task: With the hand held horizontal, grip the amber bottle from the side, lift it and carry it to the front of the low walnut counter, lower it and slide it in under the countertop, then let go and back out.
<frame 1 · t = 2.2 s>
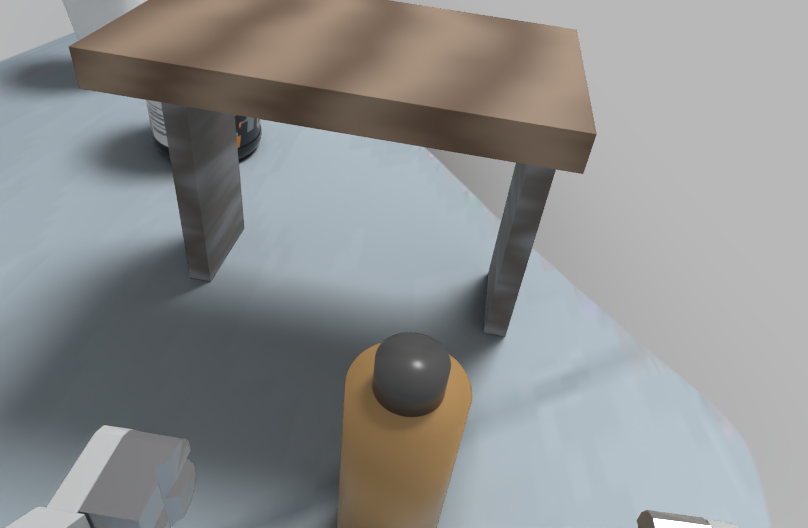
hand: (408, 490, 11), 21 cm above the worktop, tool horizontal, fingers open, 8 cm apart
counter: (345, 306, 45), on the worktop
foam cup: (122, 76, 71), on the worktop
supplement container: (209, 145, 61), on the worktop
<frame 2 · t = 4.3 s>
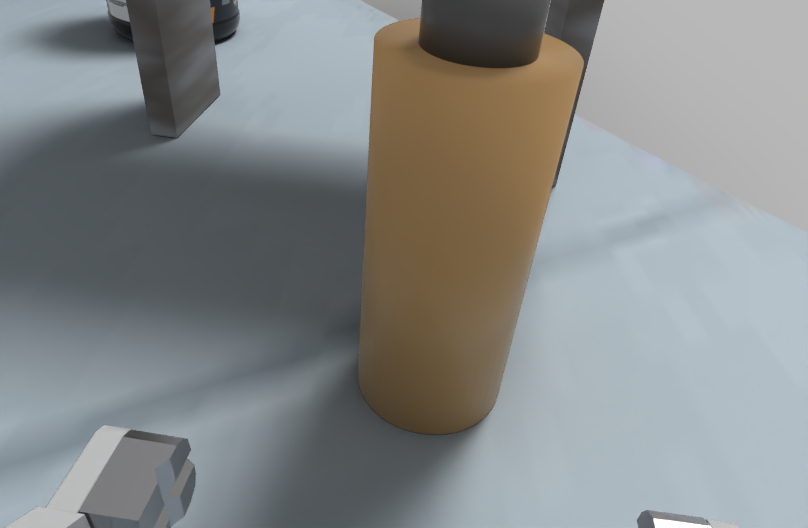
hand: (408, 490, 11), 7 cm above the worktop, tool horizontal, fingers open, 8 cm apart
amber bottle: (428, 376, 22), on the worktop
counter: (350, 159, 35), on the worktop
supplement container: (178, 32, 52), on the worktop
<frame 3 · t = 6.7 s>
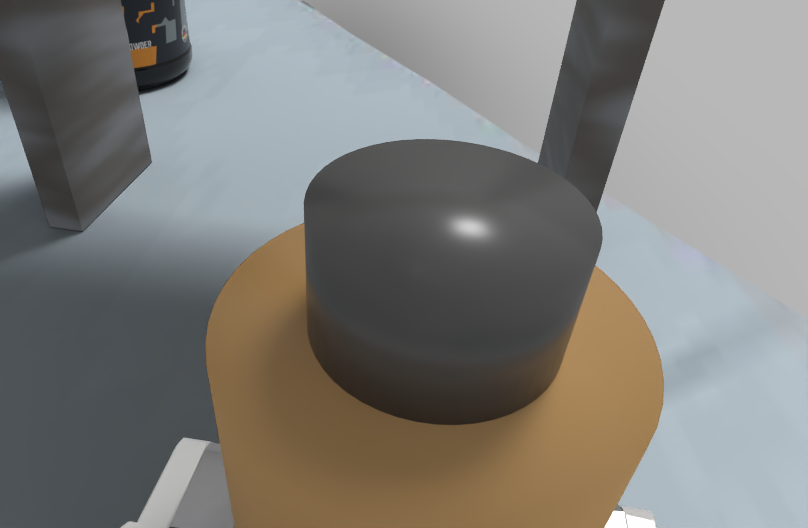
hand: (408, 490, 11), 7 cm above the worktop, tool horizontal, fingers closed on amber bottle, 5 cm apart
counter: (303, 262, 27), on the worktop
supplement container: (119, 72, 44), on the worktop
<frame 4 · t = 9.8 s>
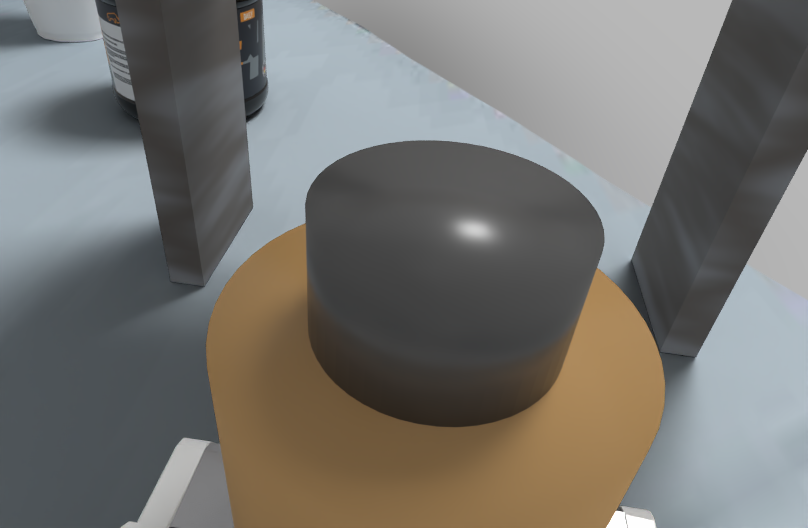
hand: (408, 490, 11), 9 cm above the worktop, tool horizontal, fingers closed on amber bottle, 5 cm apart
counter: (427, 318, 27), on the worktop
foam cup: (78, 32, 54), on the worktop
supplement container: (195, 105, 44), on the worktop
when the fingers open (8 cm above the worktop, at t = 13.4 s): amber bottle drops 1 cm, on the worktop.
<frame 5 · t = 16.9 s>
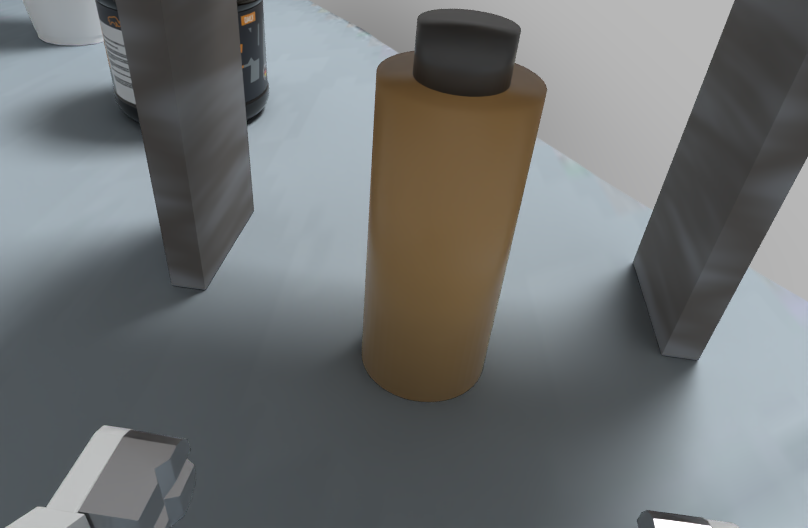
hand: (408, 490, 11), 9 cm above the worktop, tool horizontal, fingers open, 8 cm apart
amber bottle: (422, 353, 26), on the worktop
counter: (429, 321, 27), on the worktop
foam cup: (79, 36, 54), on the worktop
supplement container: (196, 108, 44), on the worktop
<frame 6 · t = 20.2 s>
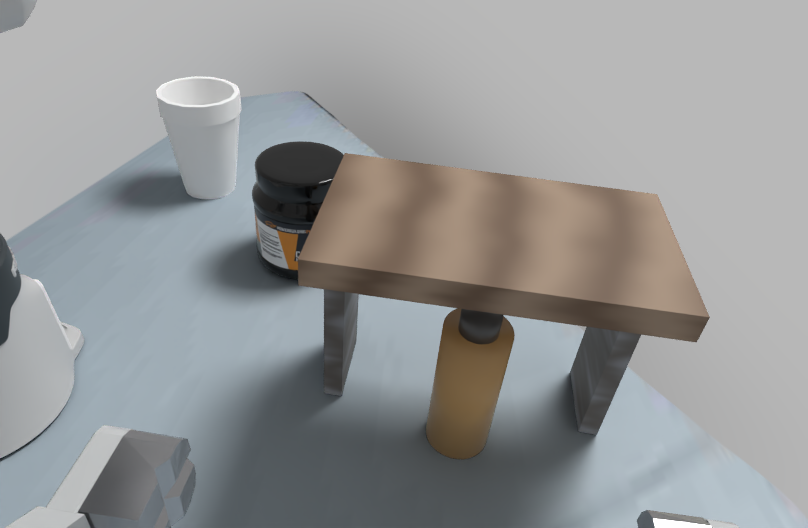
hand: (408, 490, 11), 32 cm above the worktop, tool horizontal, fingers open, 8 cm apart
amber bottle: (456, 432, 51), on the worktop
counter: (458, 413, 53), on the worktop
foam cup: (210, 188, 79), on the worktop
supplement container: (304, 256, 69), on the worktop
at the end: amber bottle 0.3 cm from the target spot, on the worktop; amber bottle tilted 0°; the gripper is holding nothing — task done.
